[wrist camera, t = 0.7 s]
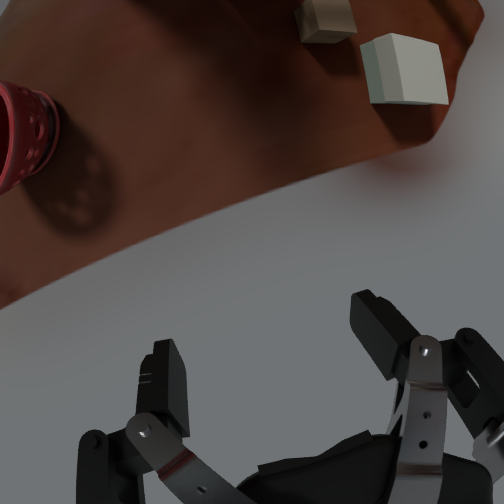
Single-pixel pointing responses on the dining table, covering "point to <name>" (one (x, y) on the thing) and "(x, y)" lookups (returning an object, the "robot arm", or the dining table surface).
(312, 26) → the walnut block
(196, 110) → the dining table surface
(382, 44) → the tower top
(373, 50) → the tower base
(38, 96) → the plant pot
